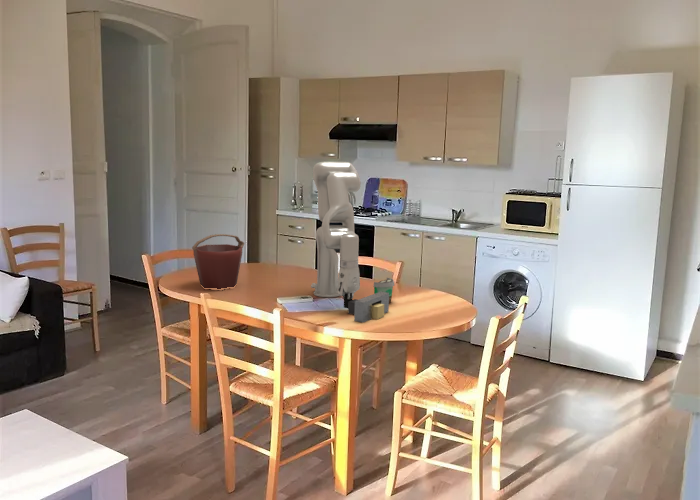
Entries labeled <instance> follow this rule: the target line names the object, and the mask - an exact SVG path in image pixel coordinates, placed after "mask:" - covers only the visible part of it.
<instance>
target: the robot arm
mask: <svg viewBox="0 0 700 500" xmlns="http://www.w3.org/2000/svg"><path fill="white" fill-rule="evenodd" d="M312 170H313V171H312V176H313V182H314V185H315V187H316V190H317V191H316V192H317V211H318V219H319V221H320V222H322V224H321V226H320V227H318V228H317V229H316V231H315V240H316V248H317V250H316V251H317V267H316V269H317V271H316V272H317V273H316V274H317V278H316V281H317V282H316V283H315V282H312V283H311V285H310V288H311V289H314V291H313V295H314V296H316V297H320V298H335V297H336V298H337V297H342V299H343V308H344V309H347V310H348V301H351V300H353V299H354V294H355V293H356V292H357V291H359V290H360V288H361V277H360V276H361V275H360V268H359V248H360V247H359V246H360V245H359V242H360V239H359V235H358V234H356V233H355V213H354V212H355V211H354V206H353V205H352V203H351V202H350V199H349V198H350V197H349V193H356V192H358V191H359V190H360V189H361V178H360V175H359V172H358V171H357V169H356V168H355V166H354V165H353V163H351V162H348V161H321V162H320V161H319V162H317V163H315V164H314V166H313V169H312ZM330 223H341V224H342V225H341V224H340V225H334V224H333V225H332V224H331V225H330ZM336 250H339V254H338V253H337V252H336Z"/></svg>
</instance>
